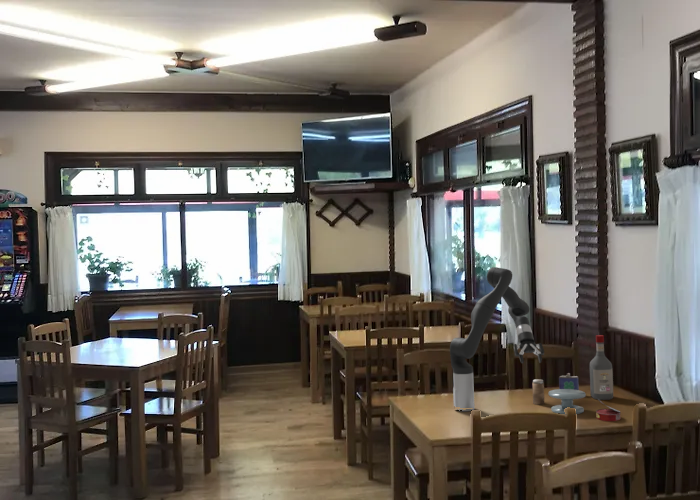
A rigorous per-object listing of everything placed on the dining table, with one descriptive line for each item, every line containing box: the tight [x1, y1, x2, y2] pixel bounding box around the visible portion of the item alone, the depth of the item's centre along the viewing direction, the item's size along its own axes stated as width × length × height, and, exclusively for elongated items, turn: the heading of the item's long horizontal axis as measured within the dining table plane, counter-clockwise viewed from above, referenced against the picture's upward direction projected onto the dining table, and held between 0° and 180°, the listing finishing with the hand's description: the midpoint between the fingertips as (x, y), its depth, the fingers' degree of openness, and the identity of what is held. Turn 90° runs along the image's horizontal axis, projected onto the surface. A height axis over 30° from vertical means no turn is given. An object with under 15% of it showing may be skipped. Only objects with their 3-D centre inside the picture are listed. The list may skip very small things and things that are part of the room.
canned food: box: [595, 399, 621, 422], centre depth 300 cm, size 11×10×10 cm
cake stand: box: [548, 388, 586, 415], centre depth 315 cm, size 16×16×8 cm
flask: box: [558, 372, 580, 390], centre depth 345 cm, size 9×3×11 cm, turn 78°
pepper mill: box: [532, 378, 546, 406], centre depth 330 cm, size 5×5×11 cm
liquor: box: [589, 334, 614, 401], centre depth 336 cm, size 9×9×30 cm
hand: (531, 362), depth 341 cm, fingers open, 8 cm apart
